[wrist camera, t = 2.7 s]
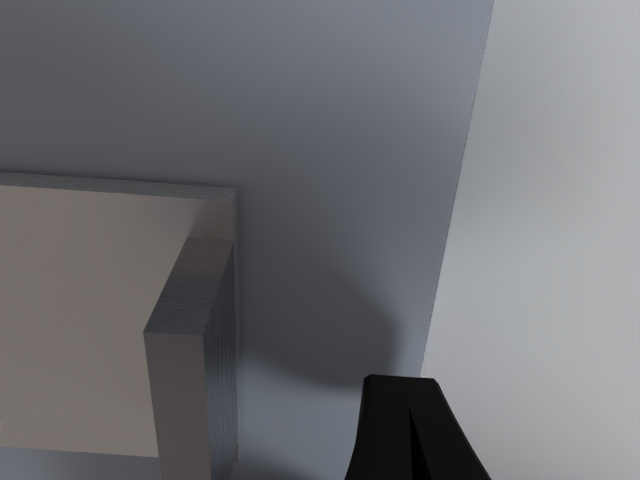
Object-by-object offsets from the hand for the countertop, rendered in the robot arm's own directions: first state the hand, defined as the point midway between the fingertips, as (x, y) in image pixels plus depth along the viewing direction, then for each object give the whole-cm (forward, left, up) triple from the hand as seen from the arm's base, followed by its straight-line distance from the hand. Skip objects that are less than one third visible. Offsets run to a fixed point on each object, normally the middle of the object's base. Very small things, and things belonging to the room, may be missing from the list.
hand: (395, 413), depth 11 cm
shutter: (+1, +6, -1) cm, 7 cm away
